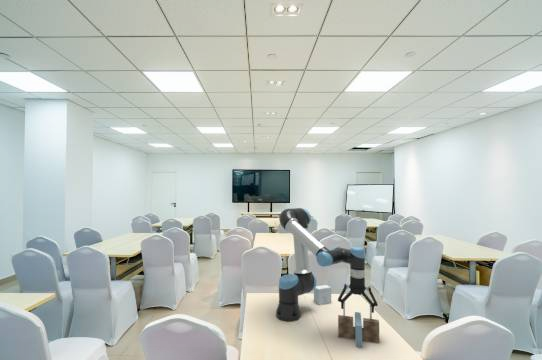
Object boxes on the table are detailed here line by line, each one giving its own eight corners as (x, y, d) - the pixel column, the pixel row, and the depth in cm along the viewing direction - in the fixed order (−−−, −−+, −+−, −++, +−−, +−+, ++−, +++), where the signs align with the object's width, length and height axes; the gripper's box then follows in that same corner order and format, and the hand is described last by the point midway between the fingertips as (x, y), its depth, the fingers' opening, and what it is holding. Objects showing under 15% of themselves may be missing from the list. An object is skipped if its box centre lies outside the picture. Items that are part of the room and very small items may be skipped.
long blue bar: (355, 346, 135) (355, 325, 135) (354, 330, 150) (354, 311, 151) (362, 347, 134) (362, 326, 135) (360, 331, 150) (360, 312, 150)
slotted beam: (338, 337, 144) (338, 317, 144) (338, 334, 146) (338, 315, 147) (379, 342, 138) (379, 322, 139) (378, 339, 141) (378, 319, 142)
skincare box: (326, 299, 195) (326, 284, 195) (331, 302, 189) (331, 287, 189) (313, 301, 190) (313, 286, 191) (318, 305, 185) (318, 289, 185)
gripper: (333, 276, 149) (333, 316, 148) (383, 281, 142) (383, 323, 141) (334, 272, 156) (333, 310, 155) (381, 276, 149) (381, 316, 149)
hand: (357, 316), depth 148 cm, fingers open, 13 cm apart
